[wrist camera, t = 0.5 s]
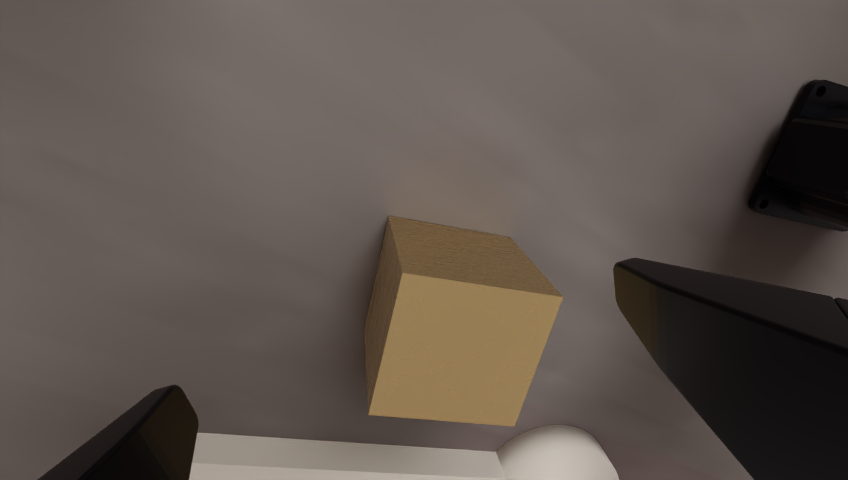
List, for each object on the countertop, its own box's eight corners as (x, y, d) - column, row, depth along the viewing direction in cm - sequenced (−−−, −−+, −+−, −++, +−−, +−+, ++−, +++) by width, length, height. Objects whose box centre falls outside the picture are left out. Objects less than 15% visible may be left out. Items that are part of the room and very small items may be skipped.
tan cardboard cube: (510, 237, 22) (563, 297, 16) (476, 341, 24) (514, 426, 18) (388, 215, 21) (402, 272, 15) (364, 328, 23) (368, 414, 17)
